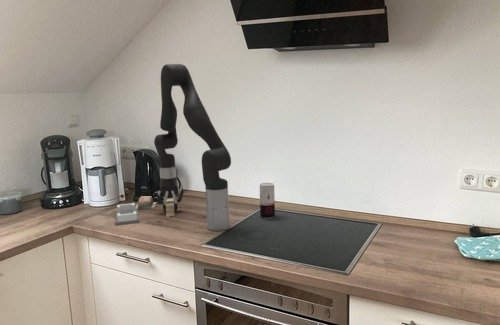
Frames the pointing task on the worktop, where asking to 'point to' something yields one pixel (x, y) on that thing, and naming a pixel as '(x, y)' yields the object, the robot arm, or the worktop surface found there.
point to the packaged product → (145, 203)
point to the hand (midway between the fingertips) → (170, 211)
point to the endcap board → (126, 214)
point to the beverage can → (267, 200)
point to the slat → (169, 207)
